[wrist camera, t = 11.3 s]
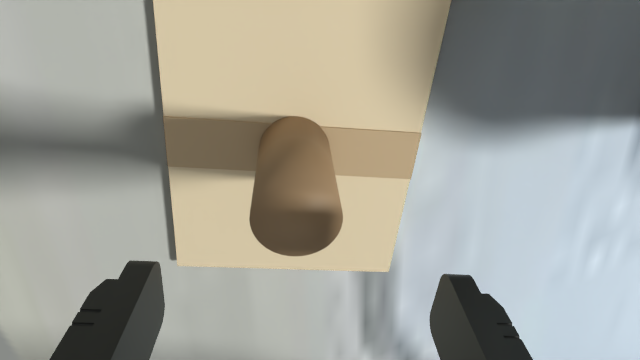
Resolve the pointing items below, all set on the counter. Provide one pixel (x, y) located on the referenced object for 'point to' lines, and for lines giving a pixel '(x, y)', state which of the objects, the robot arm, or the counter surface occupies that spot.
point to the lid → (293, 126)
